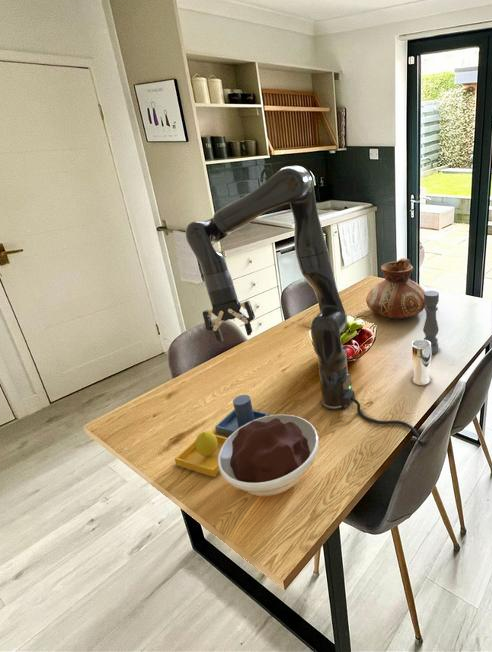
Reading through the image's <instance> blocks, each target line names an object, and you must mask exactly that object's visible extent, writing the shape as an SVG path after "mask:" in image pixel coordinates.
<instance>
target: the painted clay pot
mask: <svg viewBox="0 0 492 652" xmlns="http://www.w3.org/2000/svg"><path fill="white" fill-rule="evenodd" d="M380 271H381V273H382V274H383V276H384V280H381V281H380V282H378V283H377V284H375V285H374V286H372V288H370V289H369V291H368V293H367V294H366V295H367V296H366V299H365V302H366V305H367V306H366V307H368V309H369V310H370V311H372V312H373V313H375V314H376V315H379V316H381V317H385V318H388V319H395V320H400V319H401V320H402V319H408V318H411V317H413V316H416V315H418V314H420V313H421V312H423V310H425V306H426V304H425V302H424V292H426V291H425V290H424V289H423V287H422V286H421V285H420V284H419V283H417V282H415V281H414V280H412V279H411V278H410V276H411V274H412V273H413V271H414V267H413V265H412V264H411V261H410V259H409V258H403V257H401V258H400V259H398V260H395V261H388V262H385V263H383V264H381V266H380Z"/></svg>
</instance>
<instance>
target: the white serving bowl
mask: <svg viewBox="0 0 492 652" xmlns="http://www.w3.org/2000/svg"><path fill="white" fill-rule="evenodd" d="M227 438H228V439H227V440H226V441H225V442H224V444H223V446H222V447H221V450H220V452H219V456H218V468H219V473H220V476H221V477H222V478H223V479H224V481H226V482H227V484H229V485H230V486H232V487H234V488H235V489H239V490H241V491H244V492H246V493H248V494H250V495H253V496H257V497H271V496H276V495H279V494H281V493H283V492H286V491H288V490H289V489H291V488H293V487H294V486H295V485H296V484H298V482H300V480H301V479H302V478H303V477H304V475H305V474H306V472H307V470H308V469H309V468H310V467H311V465H312V464H313V462H314V460H315V459H316V456H317V454H318V451H319V446H320V440H319V439H320V438H319V434H318V431H317V430H316V428H315V426H313V424H312V423H311V422H310V421H308V420H307V419H305V418H303V417H301V416H297V415H293V414H279V413H278V414H271V415H270V414H269V416H266V417H262V418H259V419H256V420H253V421H251V422H249V423H247V424H245V425H243V426H242V427H240V428H239V429H237V430H236V431H235V432H234V433H232V434H231V435H228V437H227Z"/></svg>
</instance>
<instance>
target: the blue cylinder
mask: <svg viewBox="0 0 492 652" xmlns="http://www.w3.org/2000/svg"><path fill="white" fill-rule="evenodd" d="M232 404H233V410H234V409H235V413H236V418H237V423H238V427H239V428H240V427H242V426H243V425H245V424H247V423H249V422H251V421H253V420H255V419H254V414H253V410H254V409H253V404H252V399H251V396H250V395H249V394H240V395H237V396H236V397H235V398H233V400H232Z"/></svg>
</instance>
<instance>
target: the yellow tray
mask: <svg viewBox="0 0 492 652" xmlns="http://www.w3.org/2000/svg"><path fill="white" fill-rule="evenodd" d="M213 434H214V433H213ZM214 435H215V436H216V438H217V442H218V446H217V449H216V451H215V452H214V453H213V454H212V455H210V456H202V455H200V454H199V453H198V452H197V449H196V445H195V443H196V439H195V440H193V441H192V442H191V443H190V444H189V445H188V446H186V448H185V449H184V450H182V451H181V452H180V453H179V454H178V455H177V456H175V457H174V462H175V465H176V466H177V467H181V468H184V469H186V470H190V471H194V472H197V473H200V474H203V475H207V476H210V477H213V478H215V477H217V476H218V475H219V473H220V471H219V468H218V456H219V452H220V450H221V447H222V446H223V444H224V442H225V441H226V440H227V439H228V437H226V436H221V435H218V434H214Z"/></svg>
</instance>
